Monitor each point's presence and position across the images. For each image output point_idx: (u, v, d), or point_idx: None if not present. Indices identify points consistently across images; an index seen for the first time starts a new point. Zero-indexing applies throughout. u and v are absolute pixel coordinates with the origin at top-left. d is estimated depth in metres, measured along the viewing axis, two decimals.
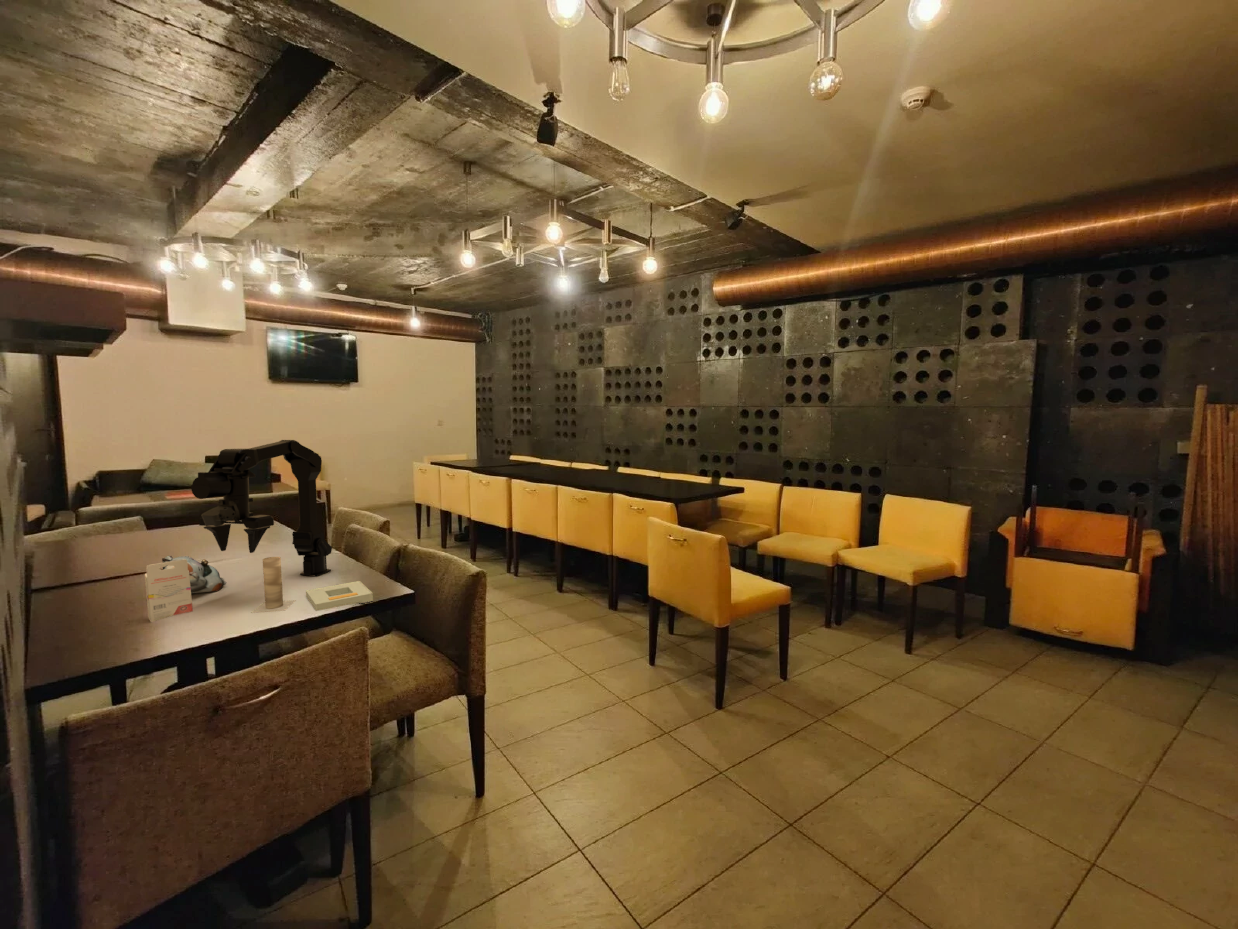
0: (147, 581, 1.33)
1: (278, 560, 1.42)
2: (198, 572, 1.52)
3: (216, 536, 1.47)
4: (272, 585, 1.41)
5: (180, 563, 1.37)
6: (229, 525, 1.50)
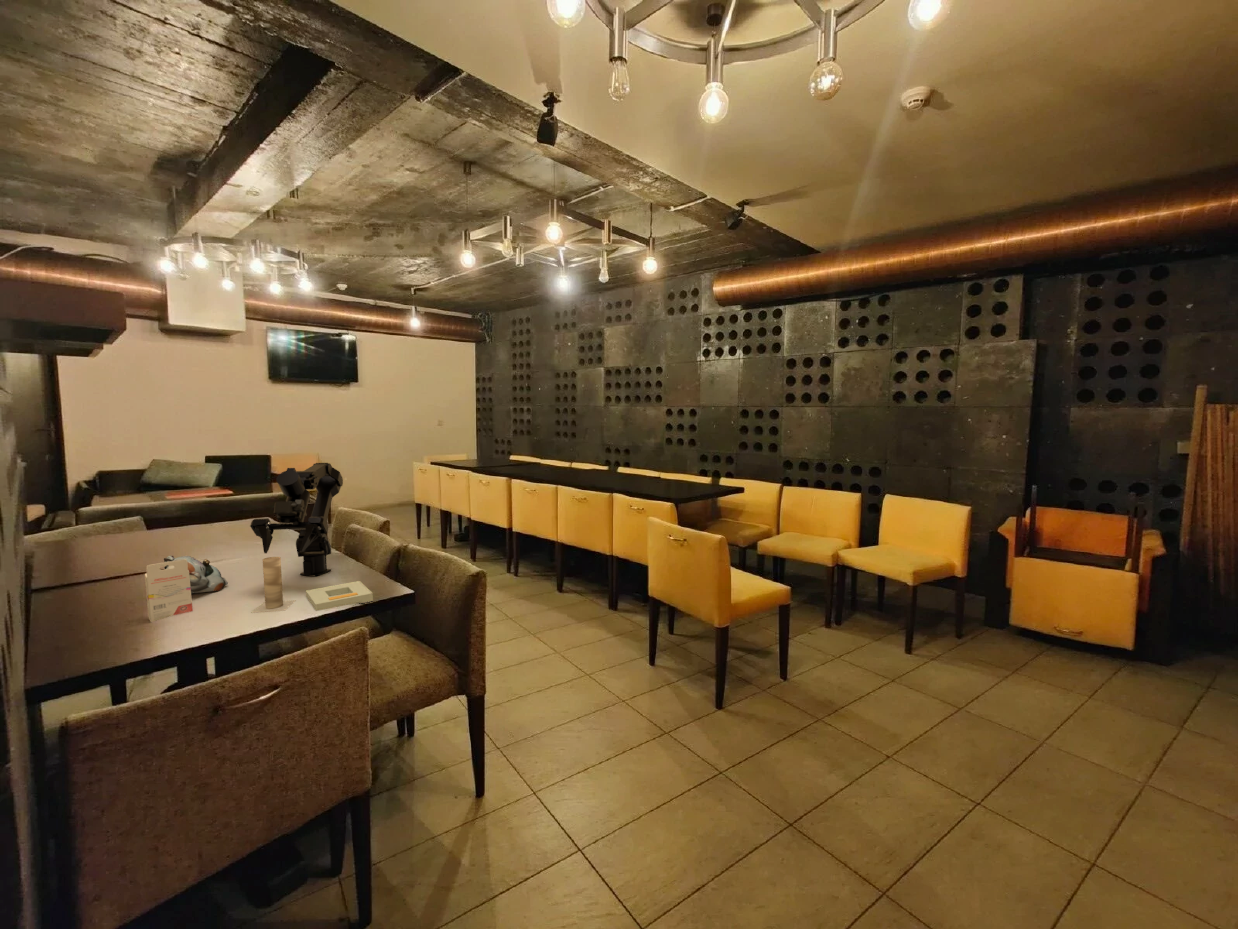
0: (147, 581, 1.33)
1: (278, 560, 1.42)
2: (200, 572, 1.53)
3: (264, 537, 1.51)
4: (272, 585, 1.41)
5: (180, 563, 1.37)
6: (272, 537, 1.55)
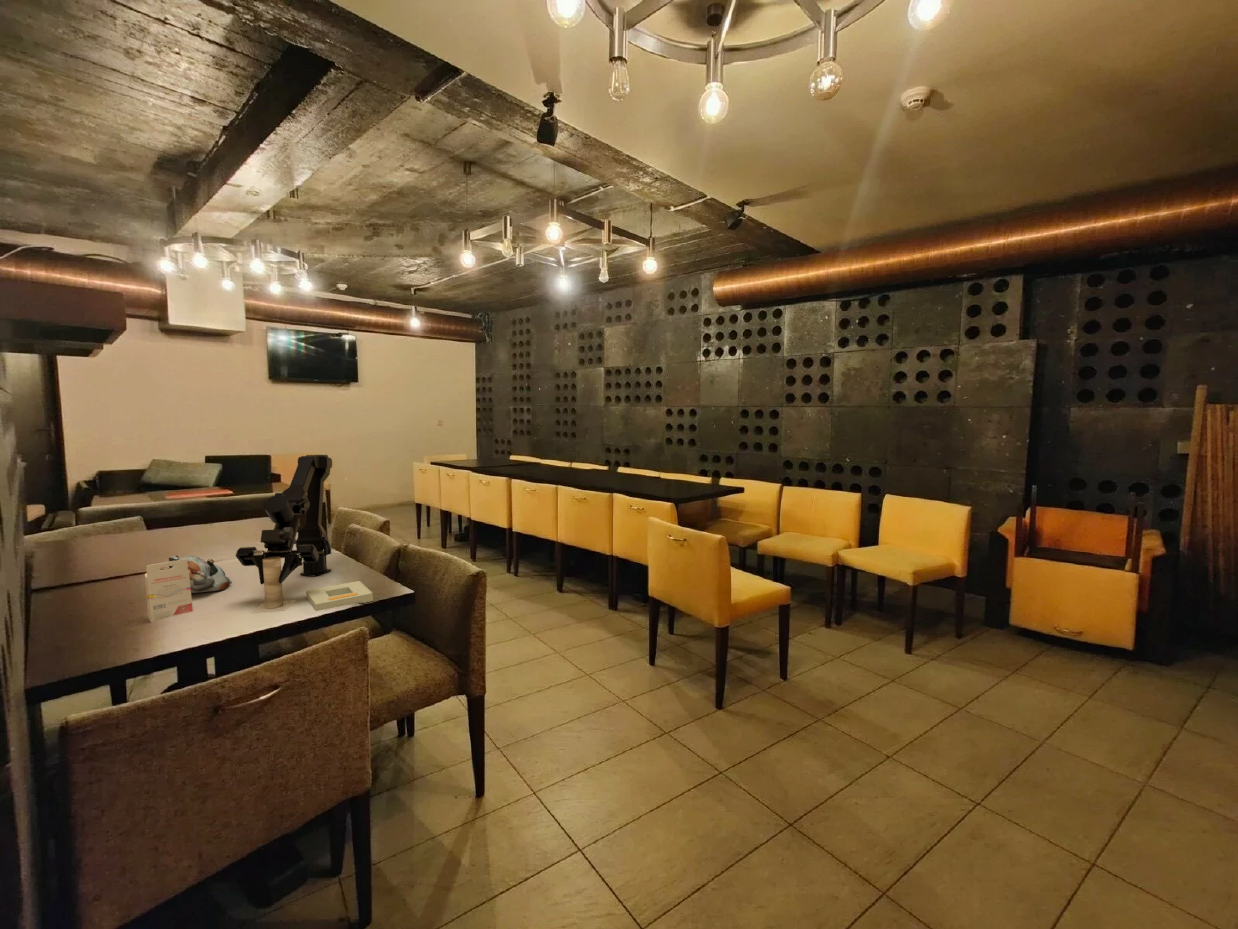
0: (147, 581, 1.33)
1: (278, 560, 1.42)
2: (205, 571, 1.53)
3: (261, 567, 1.43)
4: (272, 585, 1.41)
5: (180, 563, 1.37)
6: None
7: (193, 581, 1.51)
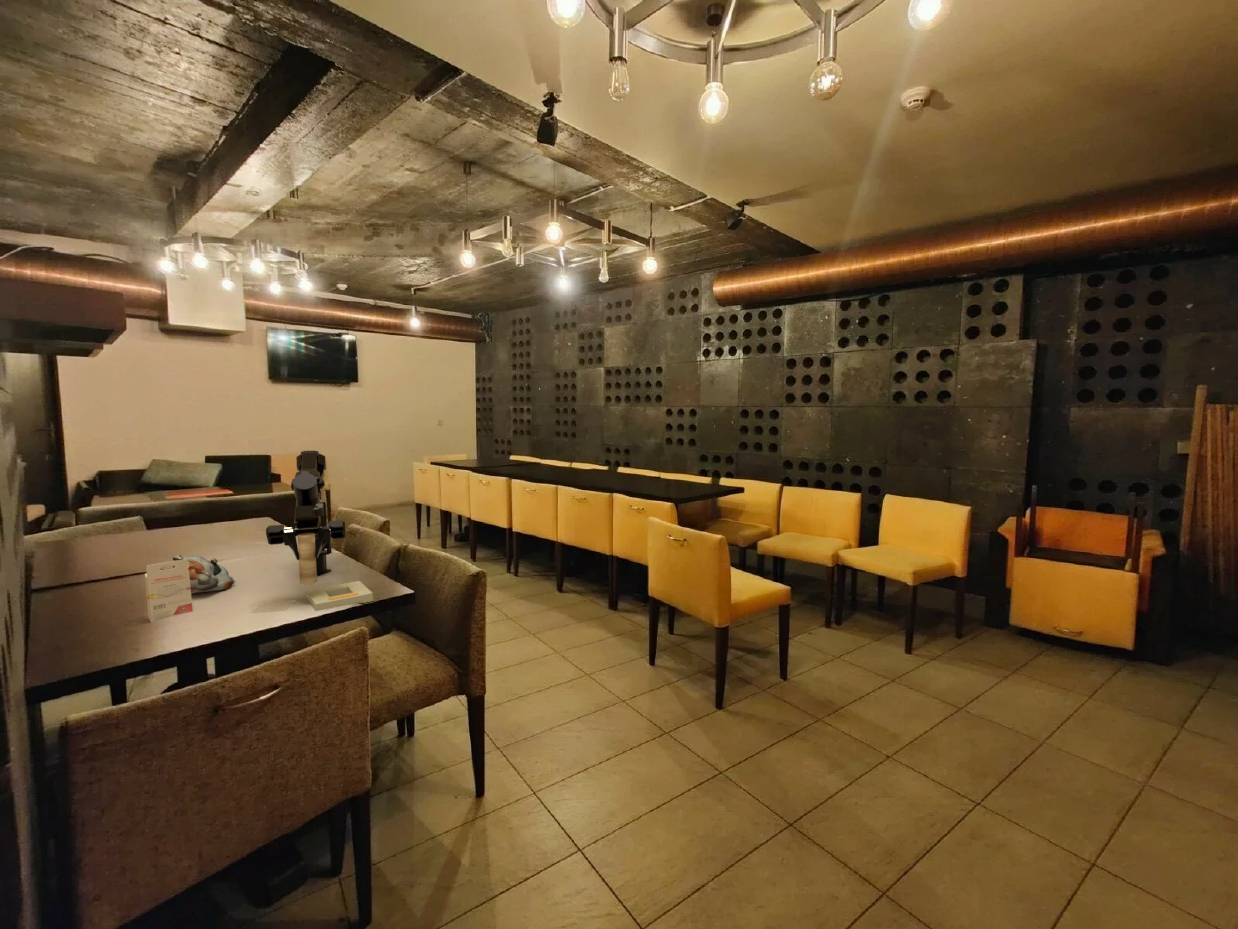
0: (147, 581, 1.33)
1: (314, 535, 1.45)
2: (209, 571, 1.54)
3: (294, 543, 1.44)
4: (309, 560, 1.44)
5: (180, 563, 1.37)
6: None
7: (197, 581, 1.51)
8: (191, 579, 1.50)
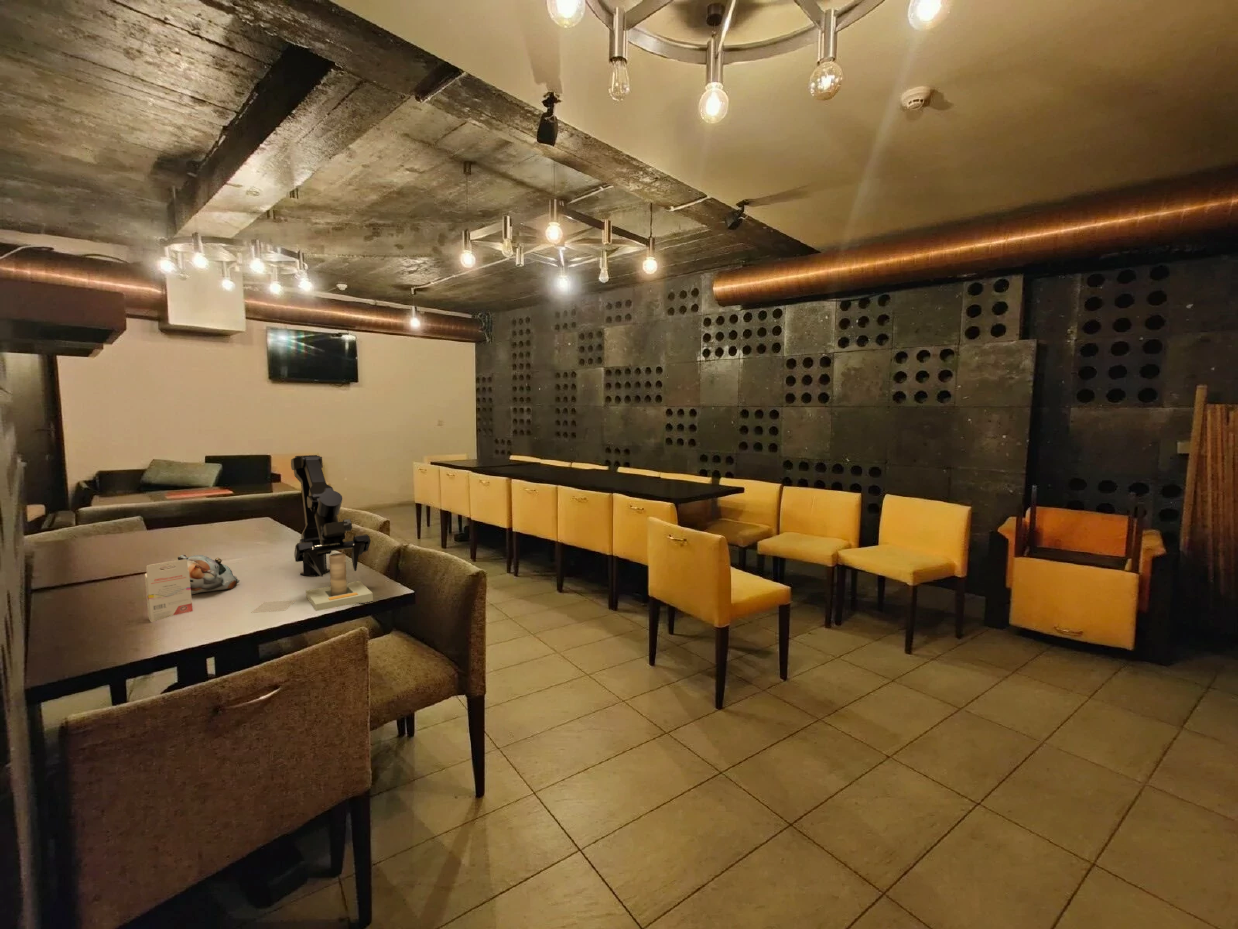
0: (147, 581, 1.33)
1: None
2: (215, 570, 1.54)
3: (316, 560, 1.47)
4: (342, 580, 1.49)
5: (180, 563, 1.37)
6: None
7: (203, 580, 1.52)
8: (197, 578, 1.51)
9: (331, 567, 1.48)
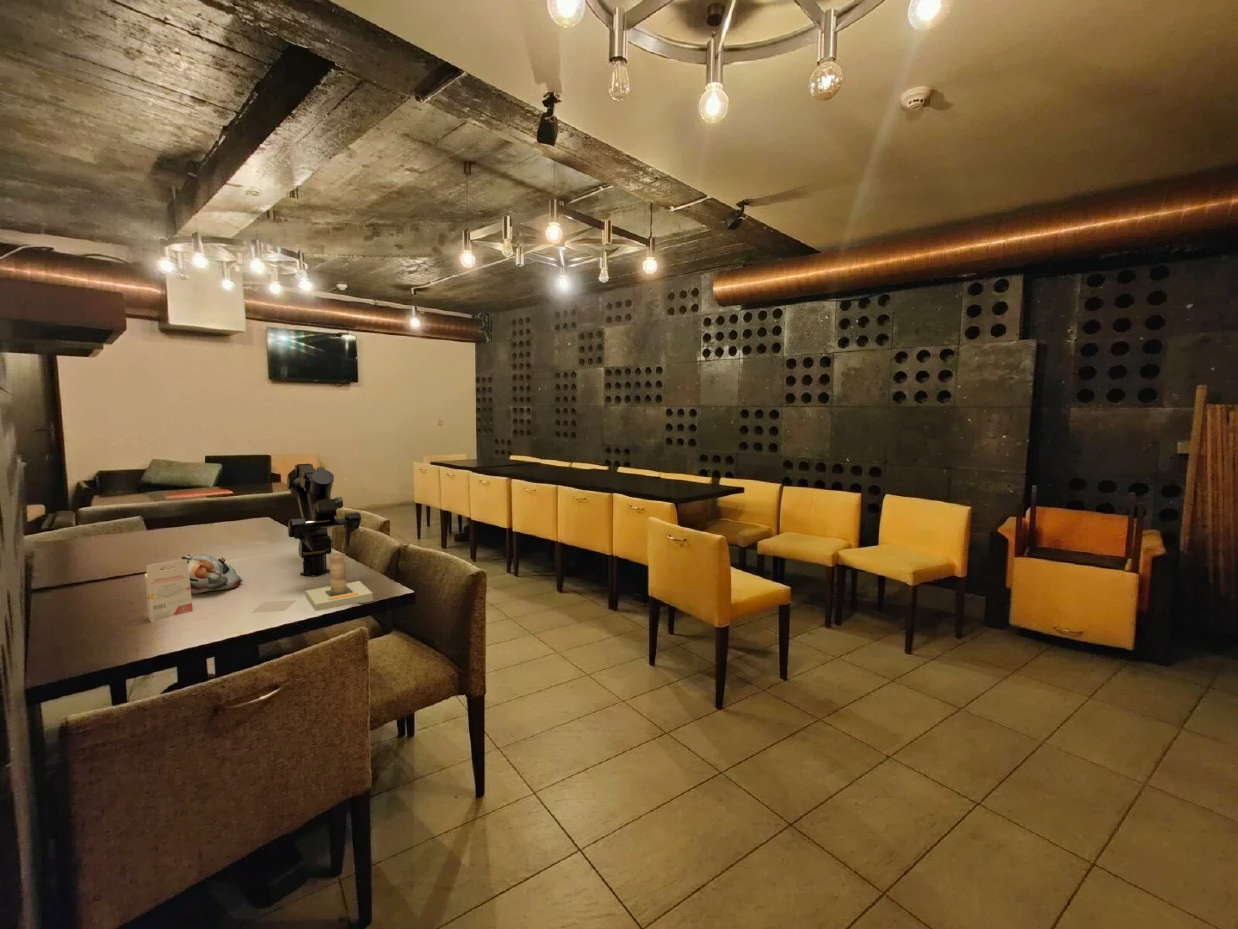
0: (147, 581, 1.33)
1: None
2: (219, 569, 1.55)
3: (307, 535, 1.53)
4: (342, 580, 1.49)
5: (180, 563, 1.37)
6: None
7: (208, 580, 1.52)
8: (201, 577, 1.52)
9: (331, 567, 1.48)
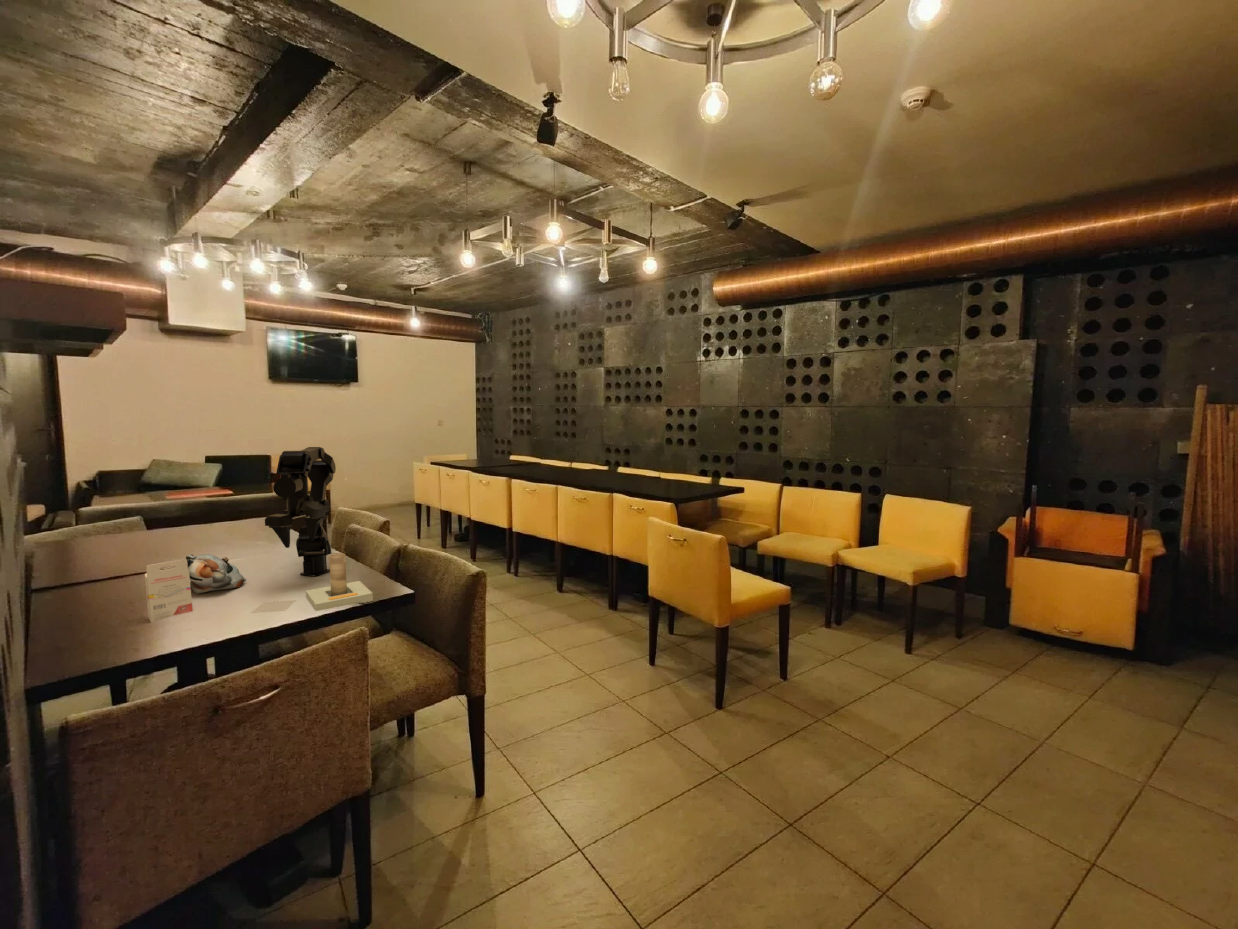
0: (147, 581, 1.33)
1: (345, 556, 1.50)
2: (223, 569, 1.56)
3: (288, 534, 1.56)
4: (341, 580, 1.48)
5: (180, 563, 1.37)
6: None
7: (212, 579, 1.53)
8: (206, 577, 1.52)
9: (331, 567, 1.48)
